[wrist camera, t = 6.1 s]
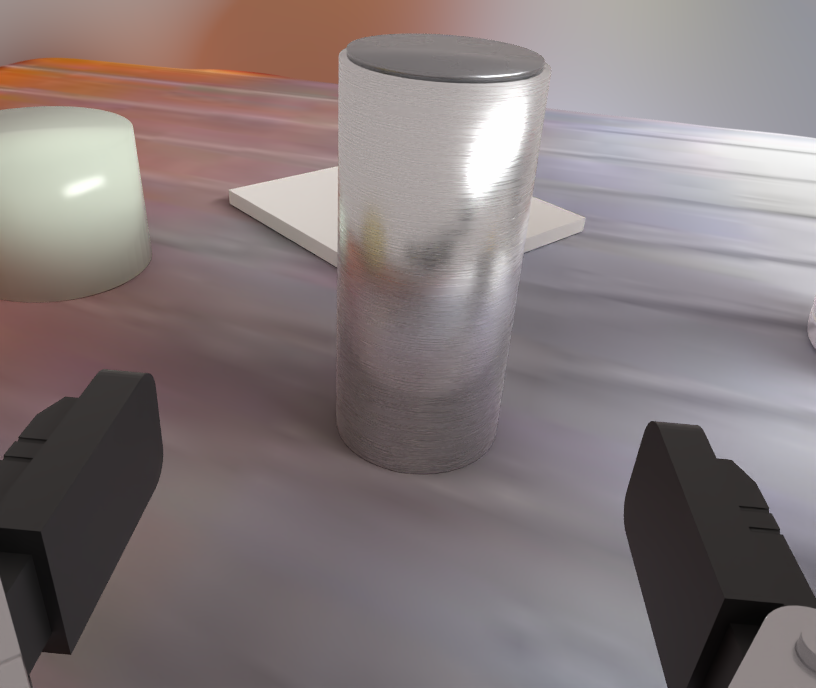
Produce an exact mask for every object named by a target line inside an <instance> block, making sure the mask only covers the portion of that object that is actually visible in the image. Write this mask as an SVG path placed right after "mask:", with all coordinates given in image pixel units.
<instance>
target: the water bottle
mask: <svg viewBox="0 0 816 688" xmlns="http://www.w3.org/2000/svg"><path fill="white" fill-rule="evenodd" d="M807 331H808V336H809V339H810V341H811V343H812V345H813V346H814V348H815V349H816V295H815V298H814V302H813V306H812V308H811V311H810V315H809V319H808V326H807Z"/></svg>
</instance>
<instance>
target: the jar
mask: <svg viewBox="0 0 816 688" xmlns="http://www.w3.org/2000/svg"><path fill="white" fill-rule="evenodd" d="M151 258H152V248H151V242H150V235H149V229H148V222H147V216H146V209H145V203H144V196H143V190H142V183H141V176H140V170H139V163H138V157H137V150H136V144H135V137H134V131H133V125H132V124H131V122H130V121H129V120H128V119H126V118H124V117H122V116H120V115H118V114H115V113H111V112H107V111H103V110H97V109H91V108H82V107H64V106H44V107H26V108H15V109H6V110H0V299H1V300H8V301H15V302H30V303H42V302H58V301H66V300H72V299H78V298H82V297H87V296H91V295H95V294H98V293H101V292H104V291H107V290H110V289H113V288H115V287H117V286H120V285H122V284H124V283H126V282H128V281H129V280H131V279H133V278H134V277H136V276H137V275H139V274H140V273H141V272H142V271H143V270H144V269H145V268H146V267H147V266H148V264H149V263H150V261H151Z"/></svg>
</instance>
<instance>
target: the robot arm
mask: <svg viewBox="0 0 816 688" xmlns="http://www.w3.org/2000/svg"><path fill="white" fill-rule="evenodd" d="M162 462H163V444H162V436H161V428H160V419H159V411H158V402H157V394H156V386H155V381H154V378H153V376H152V375H151V374H149V373H139V372H128V371H117V370H107V369H103V370H101V371H99V372H98V373H97V375H96V376H95V377H94V379H93V380H92V381H91V383H90V384H89V385H88V387H87V388H86V389H85V390H84V392H83V393H82V394H81V396H80V397H79V398H73V397H64V398H62V399H61V400H59V401H58V402H56V403H55V404H53V405H51V406H50V407H48V408H47V409H45V410H43V411H42V412H40V413H39V414H37V415H36V416H35V417H34V419H33V420H32V421H31V422H30V424H29V425H28V426H27V427H26V429H25V430H24V431H23V432H22V433H21V435H20V436H19V440H18V442H16V441H15V442H14V443H13V445H12V446H11V447H10V448H9V449H8V451H7V452H6V453H5V454H4V459H3V460H0V688H33V686H32V682H31V679H30V675H29V674H30V672H31V670H32V668H33V667H34V665H35V663H36V661H37V659H38V658H39V656H40V654H41V652H48V653H59V654H69V655H71V653H72V651H73V650H74V648H75V646H76V644H77V642H78V640H79V638H80V636H81V634H82V632H83V630H84V628H85V626H86V624H87V622H88V620H89V618H90V616H91V614H92V612H93V610H94V608H95V606H96V604H97V602H98V600H99V598H100V596H101V594H102V593H103V591H104V589H105V587H106V585H107V583H108V581H109V579H110V577H111V575H112V573H113V571H114V569H115V567H116V565H117V563H118V561H119V559H120V557H121V555H122V553H123V551H124V549H125V547H126V545H127V543H128V541H129V539H130V537H131V535H132V534H133V532H134V530H135V528H136V526H137V524H138V522H139V520H140V518H141V516H142V514H143V512H144V510H145V508H146V506H147V504H148V502H149V500H150V498H151V496H152V494H153V492H154V490H155V488H156V486H157V484H158V481H159V478H160V474H161V469H162ZM624 525H625V531H626V535H627V539H628V543H629V546H630V550H631V554H632V558H633V561H634V565H635V569H636V572H637V576H638V580H639V583H640V587H641V591H642V595H643V598H644V602H645V606H646V609H647V613H648V617H649V620H650V624H651V628H652V631H653V635H654V639H655V643H656V646H657V650H658V654H659V657H660V661H661V665H662V668H663V672H664V676H665V680H666V683H667V687H668V688H816V598H815V596H814V594H813V592H812V590H811V588H810V587H809V585H808V583H807V581H806V579H805V577H804V575H803V573H802V571H801V569H800V567H799V565H798V563H797V561H796V559H795V557H794V556H793V554H792V552H791V550H790V548H789V546H788V544H787V542H786V540H785V538H784V536H783V535H780V528H779V527H778V525H777V523H776V521H775V519H774V517H773V515H772V514H771V513H769V507H768V505H767V503H766V501H765V499H764V498H763V496H762V494H761V492H760V490H759V488H758V486H757V484H756V483H755V482H754V481H753V480H752V479H751V478H750V477H749V476H748V475H747V474H746V473H745V472H744V471H743V470H742V469H741V468H740V467H739V466H737V465H736V464H735V463H734V462H733V461H732V460H728V459H717V458H716V456H715V454H714V452H713V450H712V448H711V446H710V444H709V441H708V439H707V437H706V435H705V433H704V431H703V429H702V428H701V427H700V426H698V425H689V424H678V423H667V422H656V421H651V422H650V423H649V424H648V425H647V427H646V429H645V432H644V435H643V438H642V441H641V445H640V448H639V451H638V455H637V458H636V462H635V465H634V468H633V472H632V475H631V478H630V482H629V485H628V489H627V492H626V497H625V503H624Z"/></svg>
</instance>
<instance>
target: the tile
mask: <svg viewBox="0 0 816 688" xmlns="http://www.w3.org/2000/svg"><path fill="white" fill-rule="evenodd" d="M229 200H230V204H231V205H233V206H235V207H236V208H238V209H240V210H241V211H243V212H245V213H246V214H248V215H250V216H251V217H253V218H255V219H257V220H258V221H260V222H262V223H263V224H265V225H267V226H268V227H270V228H272V229H273V230H275V231H277V232H278V233H280V234H282V235H283V236H285V237H287V238H288V239H290V240H292V241H293V242H295V243H297V244H298V245H300V246H302V247H303V248H305V249H307V250H308V251H310V252H312V253H313V254H315V255H317V256H318V257H320V258H322V259H324V260H325V261H327V262H329V263H330V264H332V265H334V266H335V267H337V243H338V166H337V167H332V168H328V169H323V170H318V171H314V172H309V173H304V174H300V175H295V176H291V177H286V178H281V179H277V180H272V181H267V182H263V183H258V184H253V185H249V186H244V187H240V188H235V189H230V190H229ZM584 223H585V217H583V216H580V215H578V214H575V213H573V212H570V211H568V210H565V209H563V208H560V207H558V206H555V205H553V204H550V203H548V202H545V201H543V200H540V199H538V198H535V197H533V196H532V201H531V208H530V214H529V221H528V227H527V234H526V241H525V247H524V253H525V252H528V251H530V250H533V249H536V248H539V247H541V246H544V245H547V244H549V243H552V242H555V241H557V240H560V239H563V238H566V237H568V236H571V235H574V234H576V233H579V232H582V231H583V228H584Z"/></svg>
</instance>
